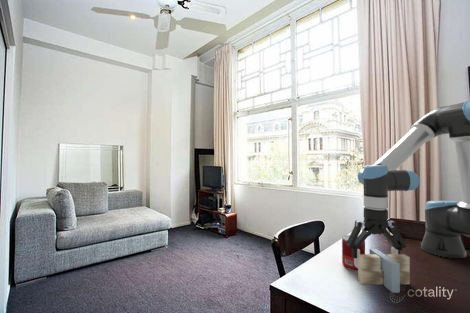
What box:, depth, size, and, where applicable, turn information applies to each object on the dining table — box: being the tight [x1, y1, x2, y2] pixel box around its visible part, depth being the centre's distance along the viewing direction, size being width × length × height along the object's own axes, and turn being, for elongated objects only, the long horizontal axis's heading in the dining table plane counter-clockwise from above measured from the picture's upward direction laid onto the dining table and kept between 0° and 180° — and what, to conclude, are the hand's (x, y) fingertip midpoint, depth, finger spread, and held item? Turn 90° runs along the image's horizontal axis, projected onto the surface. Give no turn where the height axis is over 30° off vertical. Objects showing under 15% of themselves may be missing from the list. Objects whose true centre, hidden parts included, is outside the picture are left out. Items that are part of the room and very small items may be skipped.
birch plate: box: [357, 253, 411, 285], centre depth 78 cm, size 16×2×9 cm, turn 90°
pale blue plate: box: [369, 248, 401, 294], centre depth 78 cm, size 12×2×9 cm, turn 0°
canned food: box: [341, 234, 366, 272], centre depth 89 cm, size 8×8×11 cm
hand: (375, 266), depth 82 cm, fingers open, 13 cm apart
